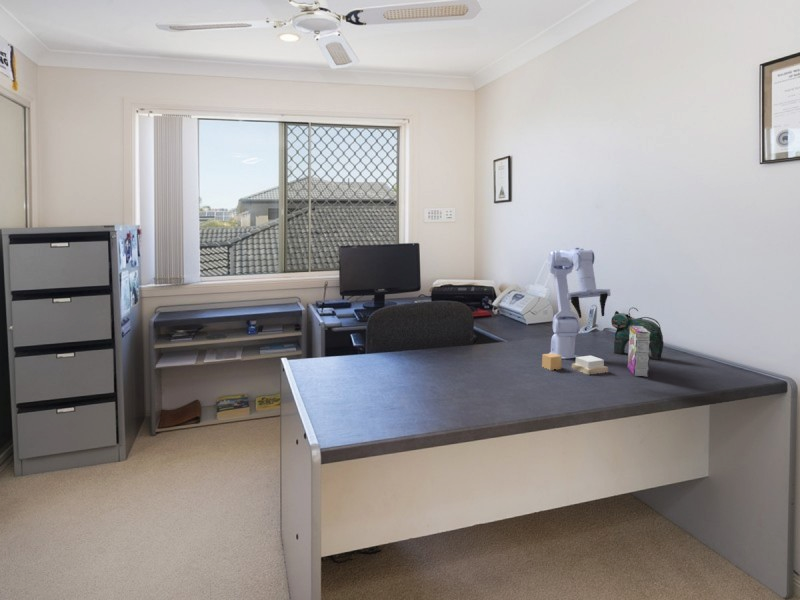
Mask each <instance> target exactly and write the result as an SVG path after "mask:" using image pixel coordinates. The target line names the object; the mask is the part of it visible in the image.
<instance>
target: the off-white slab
mask: <svg viewBox="0 0 800 600" xmlns="http://www.w3.org/2000/svg"><path fill="white" fill-rule="evenodd" d="M574 363H575V364H578V365H580V366H583V367H585V368H588V369H589V368H597V367H604V366H605V365H604V364H605V360H604V359H603V358H599V357H596V356H594V355H590V354H589V355H584V356H579V357H576V358H575V362H574Z"/></svg>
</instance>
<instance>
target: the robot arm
mask: <svg viewBox="0 0 800 600" xmlns="http://www.w3.org/2000/svg"><path fill="white" fill-rule="evenodd" d="M548 255H549V256H548V268H549V271H550V272H549V273H550V274H552V275H553V276H554V284H555V291H556V299H557V308H558V312H557V313H555V314H554V316H553V317H552V331H553V333H554V334H552V336H551V340H550V352H548V354H550V353H554V354H557V355H560V356H562V359H563V360H565V359H566V360H567V359H574V358H575V359H576V357H580V356H579V355H577V354H575V345H576V337H577V335H578V334H579V333H580V331H581V322H580V320H579V319H582V311H581V306H580V299H583V298H584V299H585V298H594V297H595V298H596V297H597V298H598V297H599V303H600V304H599V305H600V313H601V317H604V316H605V308H606V303H607V301H608V300H607V299H608V297H611V288H610V289H609V288H608V289H607V288H606V289H603V288H601V289H600V288H597V284H596V283H597V282H596V277H595V271H594V263H595V252H594V251H593V250H592V249H589V250H588V249H587V250H586V249H584V248H580V247H574V248H573V249H561V250H552V251H550V253H549V254H548ZM574 268H575V271H576V272H577V273H576V274H577V281H578V289H579V290H577V291H574V292H569V285H568V279H567V277H568V275H569V274H571V273H572V271H573V269H574ZM571 304H572V306H573V307H574V309H575V311H576V312H574V311H573V310H572V308H571Z"/></svg>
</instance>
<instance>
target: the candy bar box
mask: <svg viewBox="0 0 800 600" xmlns="http://www.w3.org/2000/svg"><path fill="white" fill-rule="evenodd" d="M650 335H651V333H650V332H649V331H648V330H647V329H646V328H644V327H643V326H630V332H629V341H628V354H627V369H628V370H629V372H630V373H631V374H632V375H633V376H634V377H637V376H643V377H646V378H648V377H649V366H650V364H649V363H650V352H651V350H650ZM643 377H642V378H643Z"/></svg>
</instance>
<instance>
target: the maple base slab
mask: <svg viewBox="0 0 800 600" xmlns="http://www.w3.org/2000/svg"><path fill="white" fill-rule="evenodd" d="M575 363H576V362H574V363H571V369H572V368H573V369H572V370H574V369H575V371H577V370H578V371H577V372H580V373H582V372H583V373H582V374H585V375H587V374H588V376H590V374H591V375H597V373H598V374H605V372H606V373H609V367H608V366H606V365H604V367H597V368H589V369H588V368H585V367H583V366H580V365H578V364H575Z"/></svg>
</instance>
